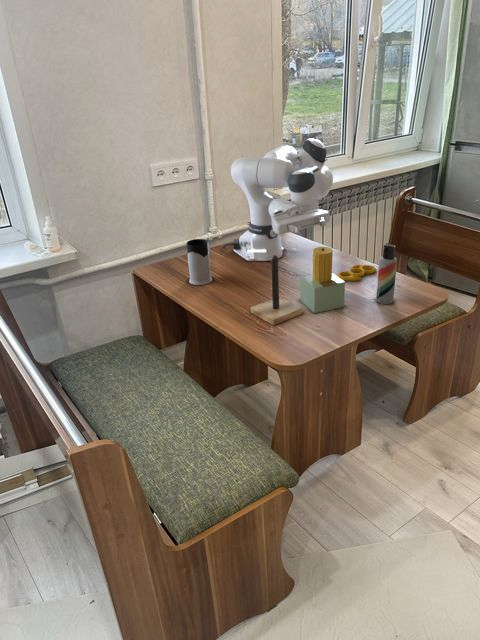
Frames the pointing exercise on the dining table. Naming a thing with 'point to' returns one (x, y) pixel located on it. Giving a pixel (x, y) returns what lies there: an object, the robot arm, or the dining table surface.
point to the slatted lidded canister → (323, 266)
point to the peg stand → (275, 302)
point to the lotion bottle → (386, 275)
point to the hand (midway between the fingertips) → (311, 227)
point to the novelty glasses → (356, 276)
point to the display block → (321, 294)
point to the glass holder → (199, 261)
